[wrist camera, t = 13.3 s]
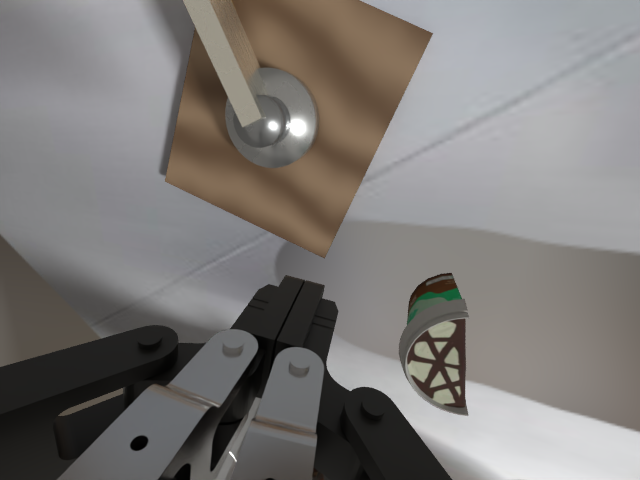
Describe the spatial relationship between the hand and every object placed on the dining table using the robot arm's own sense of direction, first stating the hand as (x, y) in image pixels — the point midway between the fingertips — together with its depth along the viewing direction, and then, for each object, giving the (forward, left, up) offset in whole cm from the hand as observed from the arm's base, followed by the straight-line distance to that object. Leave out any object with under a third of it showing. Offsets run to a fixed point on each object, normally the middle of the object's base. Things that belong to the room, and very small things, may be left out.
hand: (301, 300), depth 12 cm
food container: (-11, -14, -25) cm, 31 cm away
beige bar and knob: (+4, +13, -23) cm, 27 cm away
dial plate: (+2, +10, -25) cm, 27 cm away
